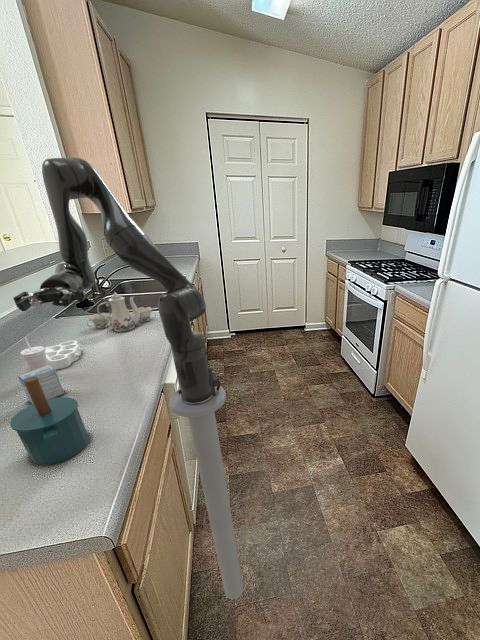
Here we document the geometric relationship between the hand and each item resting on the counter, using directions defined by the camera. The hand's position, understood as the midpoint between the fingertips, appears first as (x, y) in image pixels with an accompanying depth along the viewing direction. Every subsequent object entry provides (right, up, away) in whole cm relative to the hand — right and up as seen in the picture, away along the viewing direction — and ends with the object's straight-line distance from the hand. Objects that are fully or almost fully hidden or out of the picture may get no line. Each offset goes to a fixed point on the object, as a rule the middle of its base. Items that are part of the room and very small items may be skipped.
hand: (43, 304), depth 78 cm
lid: (+4, -25, -4) cm, 26 cm away
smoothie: (-24, -19, +31) cm, 43 cm away
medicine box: (-14, -24, +19) cm, 34 cm away
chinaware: (-19, +2, +71) cm, 74 cm away
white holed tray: (-26, -13, +42) cm, 52 cm away
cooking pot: (+4, -34, 0) cm, 34 cm away
